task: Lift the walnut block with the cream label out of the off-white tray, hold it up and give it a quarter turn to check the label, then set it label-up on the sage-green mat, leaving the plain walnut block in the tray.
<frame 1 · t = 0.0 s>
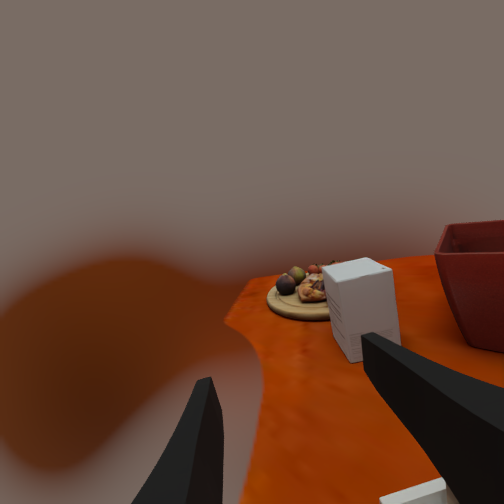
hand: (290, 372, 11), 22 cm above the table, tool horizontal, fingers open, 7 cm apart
supplement box: (364, 344, 45), on the table
wooden plate with food: (322, 295, 70), on the table
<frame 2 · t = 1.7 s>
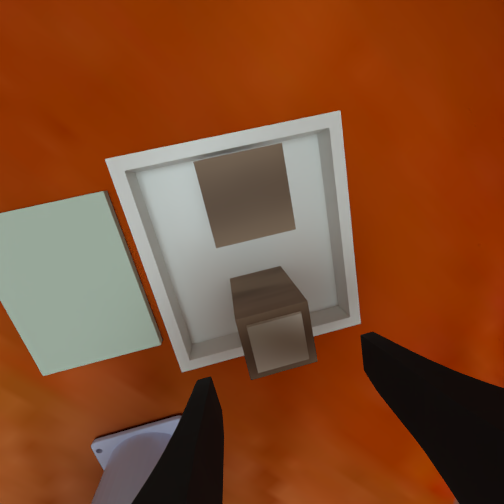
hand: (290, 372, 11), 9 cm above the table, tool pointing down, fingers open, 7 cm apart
sage mat: (75, 287, 18), on the table
labelled block: (260, 295, 19), point 1 cm above the table, touching parts tray
plain block: (237, 193, 17), point 1 cm above the table, touching parts tray
parts tray: (248, 245, 19), on the table
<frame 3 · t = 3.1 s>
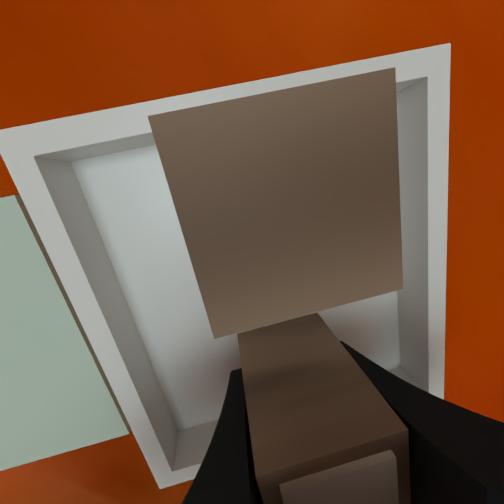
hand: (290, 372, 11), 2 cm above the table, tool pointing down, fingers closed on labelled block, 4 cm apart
labelled block: (284, 356, 12), point 1 cm above the table, touching gripper, parts tray
plain block: (251, 198, 10), point 1 cm above the table, touching parts tray
parts tray: (267, 280, 12), on the table
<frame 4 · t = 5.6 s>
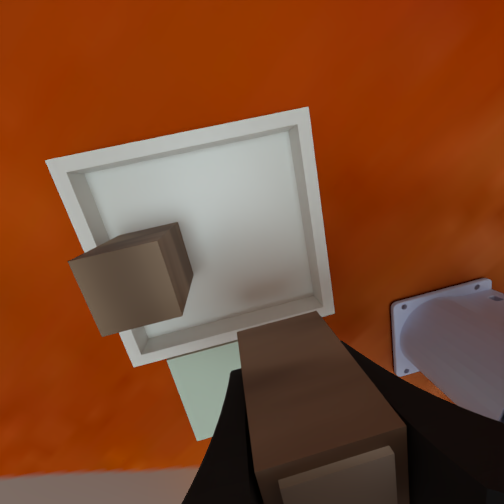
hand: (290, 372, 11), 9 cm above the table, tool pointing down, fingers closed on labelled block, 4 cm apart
sage mat: (250, 378, 22), on the table
labelled block: (284, 355, 12), point 8 cm above the table, touching gripper
plain block: (158, 255, 17), point 1 cm above the table, touching parts tray
parts tray: (213, 240, 18), on the table
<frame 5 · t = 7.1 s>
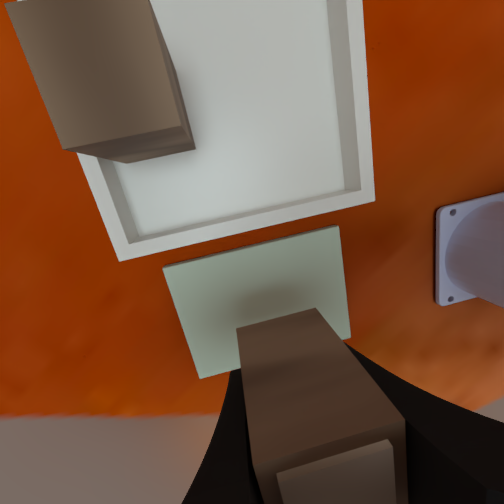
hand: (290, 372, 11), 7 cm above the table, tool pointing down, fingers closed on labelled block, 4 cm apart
sage mat: (264, 302, 18), on the table
labelled block: (283, 351, 12), point 6 cm above the table, touching gripper
plain block: (150, 118, 14), point 1 cm above the table, touching parts tray
parts tray: (221, 107, 14), on the table
when the fingers open (3 cm above the table, at t = 8.2 s): labelled block stays where it is, resting on sage mat.
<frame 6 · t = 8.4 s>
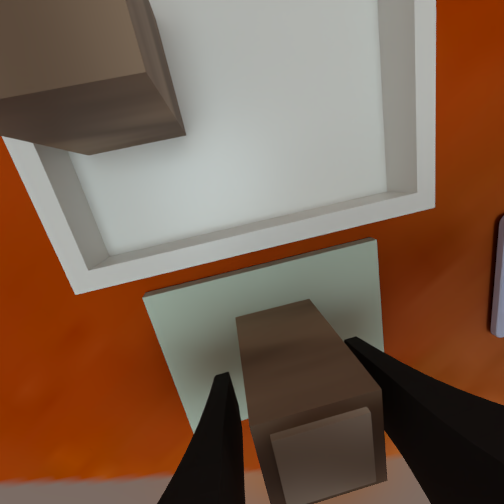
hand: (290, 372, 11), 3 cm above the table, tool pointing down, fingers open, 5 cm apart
sage mat: (276, 336, 14), on the table
labelled block: (279, 339, 13), point 1 cm above the table, touching sage mat
plain block: (120, 90, 9), point 1 cm above the table, touching parts tray
parts tray: (221, 77, 10), on the table
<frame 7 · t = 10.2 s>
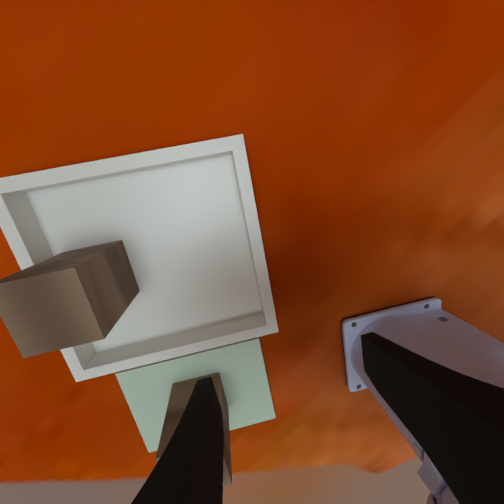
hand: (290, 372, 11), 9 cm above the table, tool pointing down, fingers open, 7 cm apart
sage mat: (202, 392, 22), on the table
labelled block: (201, 395, 22), point 1 cm above the table, touching sage mat
plain block: (103, 272, 18), point 1 cm above the table, touching parts tray
parts tray: (160, 257, 19), on the table
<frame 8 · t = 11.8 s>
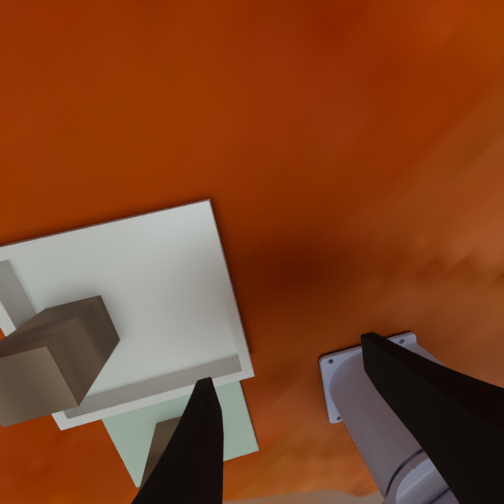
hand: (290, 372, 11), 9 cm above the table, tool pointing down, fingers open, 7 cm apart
sage mat: (186, 428, 23), on the table
labelled block: (185, 433, 22), point 1 cm above the table, touching sage mat
plain block: (84, 325, 19), point 1 cm above the table, touching parts tray
parts tray: (139, 307, 19), on the table
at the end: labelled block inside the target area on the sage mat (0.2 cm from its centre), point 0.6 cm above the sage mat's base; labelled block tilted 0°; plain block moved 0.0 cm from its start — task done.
